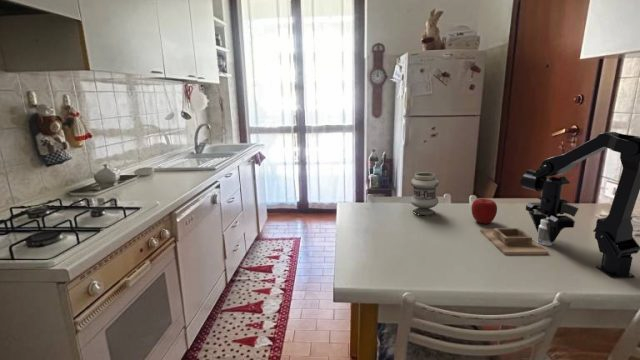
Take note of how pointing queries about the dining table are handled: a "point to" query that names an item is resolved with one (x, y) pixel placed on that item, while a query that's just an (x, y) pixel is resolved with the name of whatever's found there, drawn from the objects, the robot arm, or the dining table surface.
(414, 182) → the apothecary jar
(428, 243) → the dining table surface
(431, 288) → the dining table surface
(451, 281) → the dining table surface
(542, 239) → the pill bottle
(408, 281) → the dining table surface
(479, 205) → the apple
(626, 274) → the robot arm
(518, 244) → the wooden tray with holder
